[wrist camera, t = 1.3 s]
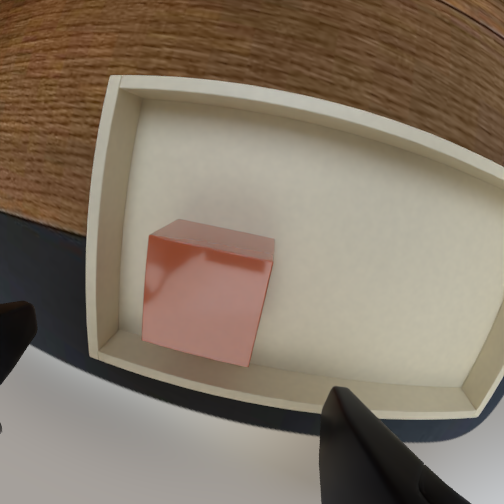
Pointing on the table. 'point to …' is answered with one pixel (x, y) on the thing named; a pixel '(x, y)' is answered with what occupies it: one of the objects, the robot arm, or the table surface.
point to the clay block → (206, 290)
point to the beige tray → (305, 245)
